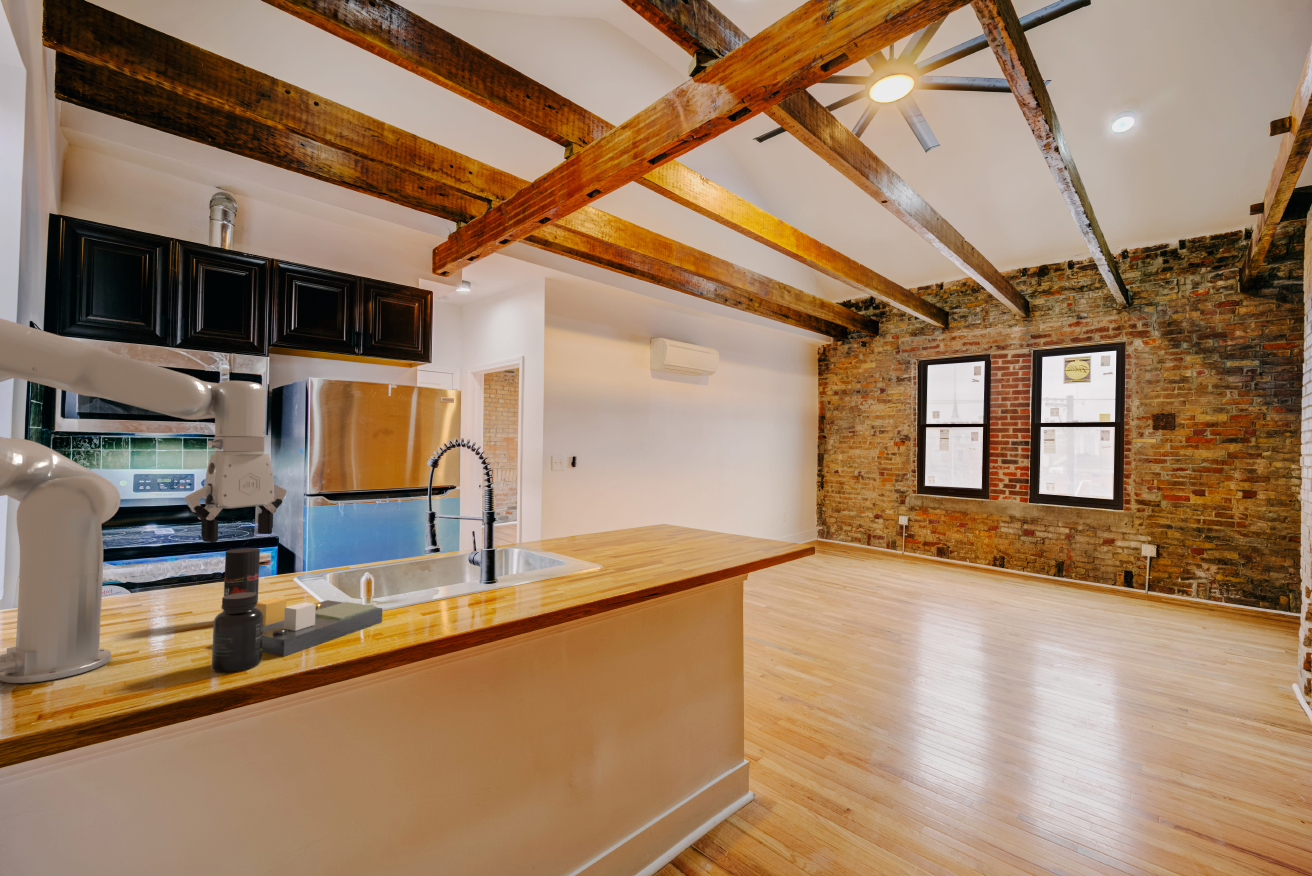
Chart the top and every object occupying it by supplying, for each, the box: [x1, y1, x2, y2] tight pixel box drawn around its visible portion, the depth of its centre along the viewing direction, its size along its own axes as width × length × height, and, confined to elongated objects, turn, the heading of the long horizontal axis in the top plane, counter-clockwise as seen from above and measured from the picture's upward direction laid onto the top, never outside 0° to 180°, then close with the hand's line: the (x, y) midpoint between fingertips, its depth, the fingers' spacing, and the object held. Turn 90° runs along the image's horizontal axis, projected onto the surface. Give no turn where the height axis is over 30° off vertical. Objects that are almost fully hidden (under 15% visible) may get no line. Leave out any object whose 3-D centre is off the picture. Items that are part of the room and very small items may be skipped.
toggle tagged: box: [255, 597, 287, 625], centre depth 109 cm, size 4×3×4 cm
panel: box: [262, 599, 383, 658], centre depth 113 cm, size 22×16×4 cm
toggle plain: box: [284, 601, 316, 631], centre depth 107 cm, size 4×3×4 cm
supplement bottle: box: [211, 592, 263, 674], centre depth 95 cm, size 7×7×12 cm
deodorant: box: [223, 547, 261, 602], centre depth 120 cm, size 6×6×15 cm
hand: (238, 537), depth 105 cm, fingers open, 9 cm apart
